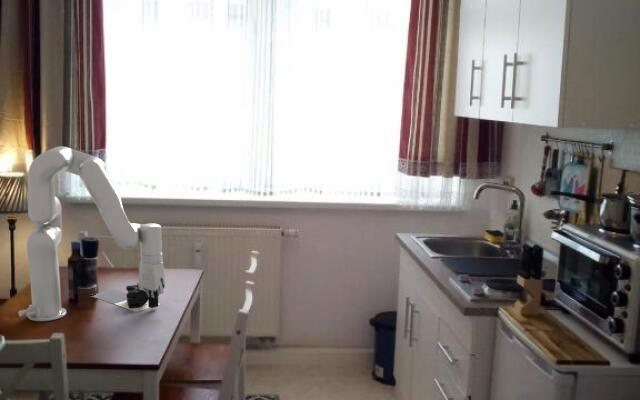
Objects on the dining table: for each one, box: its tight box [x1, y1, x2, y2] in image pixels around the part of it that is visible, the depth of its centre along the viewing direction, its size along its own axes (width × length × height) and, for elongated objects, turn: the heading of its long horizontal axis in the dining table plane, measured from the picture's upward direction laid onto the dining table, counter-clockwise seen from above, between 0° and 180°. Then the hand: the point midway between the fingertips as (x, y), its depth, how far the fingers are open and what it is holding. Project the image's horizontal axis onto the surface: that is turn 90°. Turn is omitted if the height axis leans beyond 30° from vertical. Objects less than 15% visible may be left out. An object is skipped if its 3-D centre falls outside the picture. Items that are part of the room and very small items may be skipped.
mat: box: [91, 288, 128, 305], centre depth 258 cm, size 11×16×1 cm
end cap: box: [125, 282, 148, 308], centre depth 248 cm, size 10×7×7 cm
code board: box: [114, 300, 162, 313], centre depth 249 cm, size 11×14×1 cm
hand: (153, 306), depth 243 cm, fingers closed
